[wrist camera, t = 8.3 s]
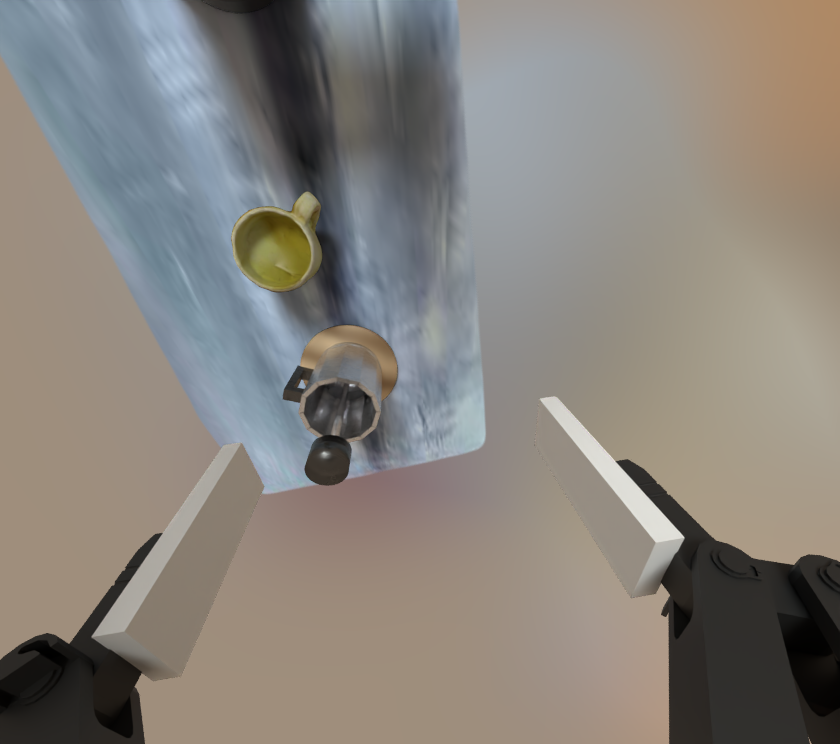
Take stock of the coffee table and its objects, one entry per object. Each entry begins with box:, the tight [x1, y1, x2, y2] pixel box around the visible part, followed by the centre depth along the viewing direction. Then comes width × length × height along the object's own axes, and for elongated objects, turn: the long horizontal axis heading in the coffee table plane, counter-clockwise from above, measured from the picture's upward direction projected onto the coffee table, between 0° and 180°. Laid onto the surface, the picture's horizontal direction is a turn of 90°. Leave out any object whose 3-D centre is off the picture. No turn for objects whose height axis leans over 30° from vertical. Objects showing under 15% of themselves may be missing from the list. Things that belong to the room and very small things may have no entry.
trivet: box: [300, 325, 397, 401], centre depth 51 cm, size 16×16×1 cm
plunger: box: [305, 381, 366, 485], centre depth 40 cm, size 7×7×20 cm
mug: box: [231, 192, 322, 292], centre depth 39 cm, size 12×10×10 cm
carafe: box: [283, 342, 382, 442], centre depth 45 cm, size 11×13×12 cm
